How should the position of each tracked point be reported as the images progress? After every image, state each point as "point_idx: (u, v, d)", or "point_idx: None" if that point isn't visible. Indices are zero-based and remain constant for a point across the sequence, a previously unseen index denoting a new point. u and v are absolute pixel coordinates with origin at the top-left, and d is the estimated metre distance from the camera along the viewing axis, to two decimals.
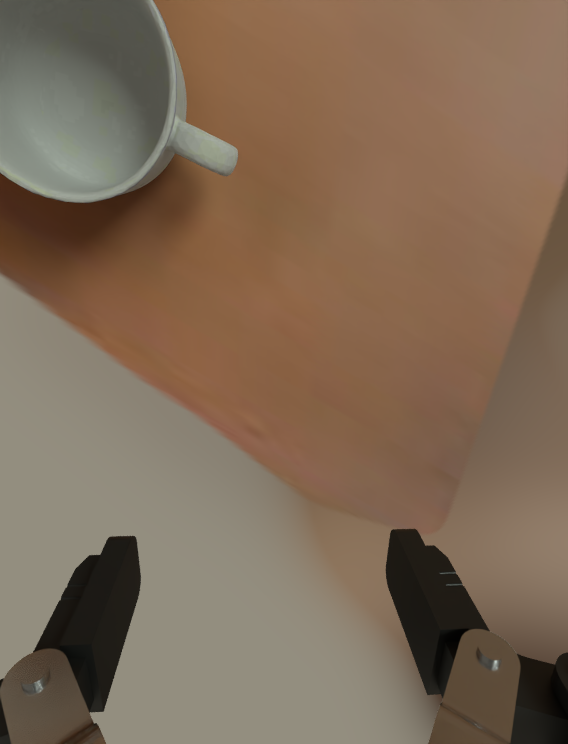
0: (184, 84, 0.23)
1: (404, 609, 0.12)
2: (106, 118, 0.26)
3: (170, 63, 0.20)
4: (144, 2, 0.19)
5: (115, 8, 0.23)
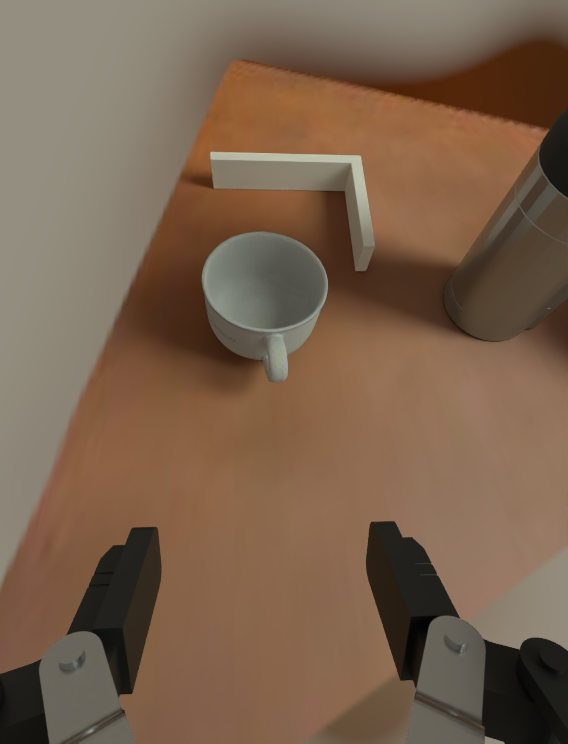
0: (297, 345, 0.39)
1: (381, 599, 0.13)
2: (252, 324, 0.42)
3: (304, 320, 0.35)
4: (319, 302, 0.36)
5: (305, 310, 0.43)
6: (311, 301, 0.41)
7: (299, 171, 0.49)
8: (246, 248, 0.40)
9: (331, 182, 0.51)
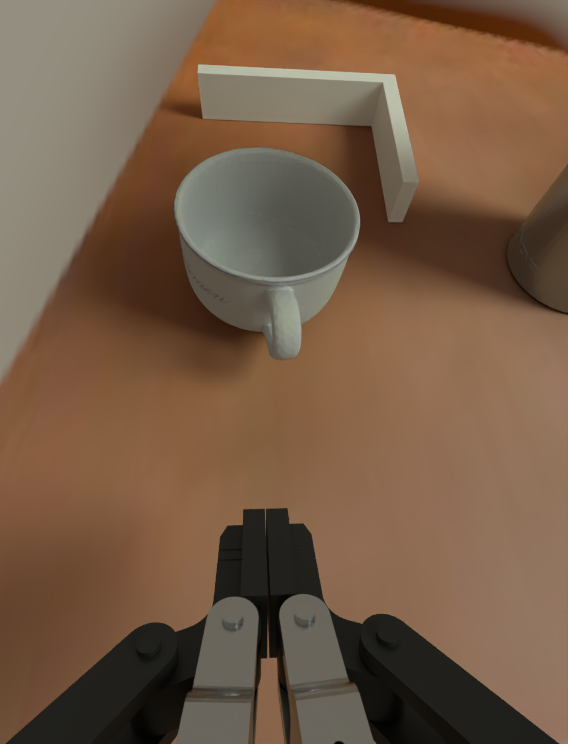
0: (312, 310, 0.27)
1: (267, 582, 0.13)
2: None
3: (327, 266, 0.23)
4: (348, 243, 0.25)
5: (323, 266, 0.31)
6: (332, 253, 0.30)
7: (315, 95, 0.38)
8: (242, 173, 0.28)
9: (355, 113, 0.39)
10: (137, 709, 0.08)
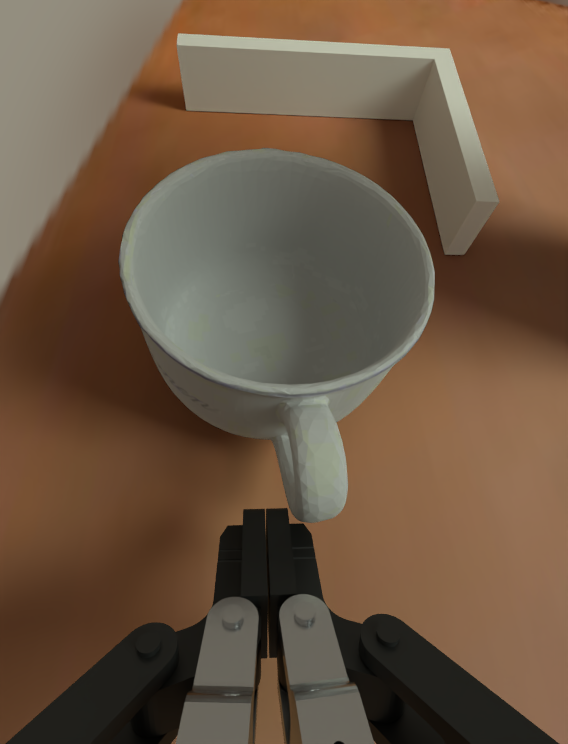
0: (352, 409, 0.17)
1: (267, 582, 0.13)
2: (251, 355, 0.20)
3: (388, 358, 0.13)
4: (419, 311, 0.14)
5: (359, 325, 0.21)
6: (375, 308, 0.20)
7: (339, 77, 0.27)
8: (237, 190, 0.18)
9: (392, 102, 0.29)
10: (137, 709, 0.08)
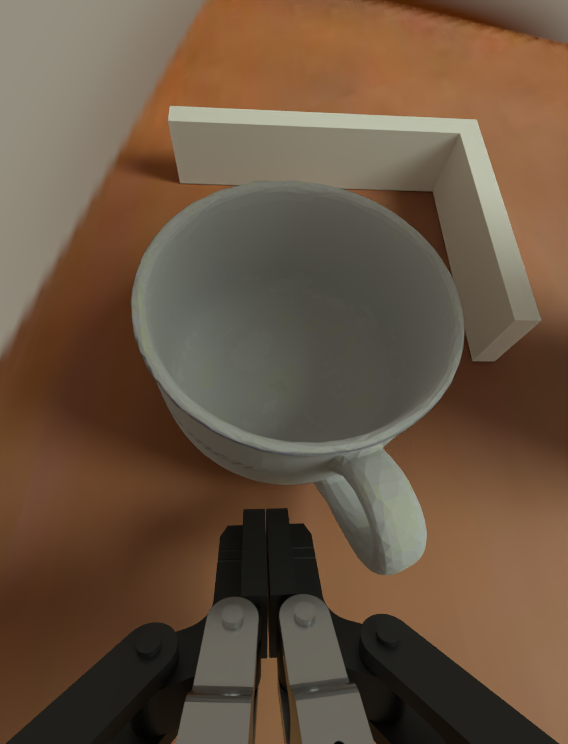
0: None
1: (267, 582, 0.13)
2: (267, 393, 0.19)
3: (438, 390, 0.13)
4: (452, 332, 0.14)
5: (370, 342, 0.20)
6: (386, 325, 0.19)
7: (352, 151, 0.24)
8: (230, 227, 0.17)
9: (411, 174, 0.26)
10: (137, 709, 0.08)
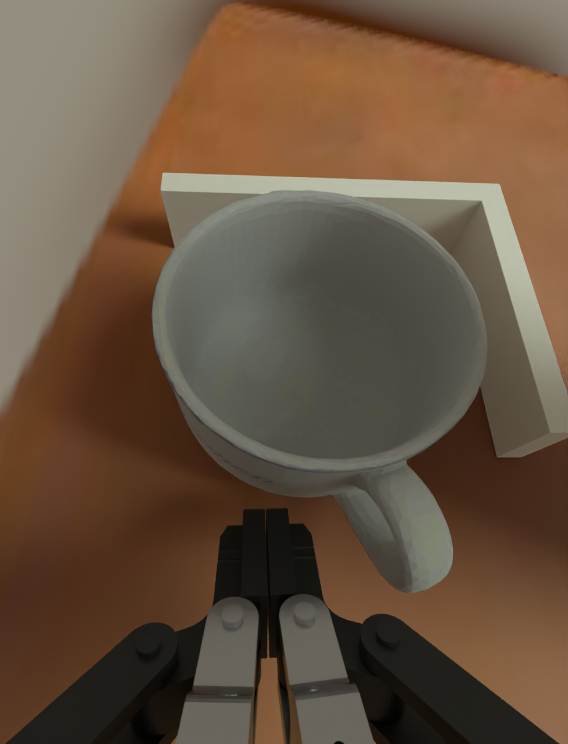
0: None
1: (267, 582, 0.13)
2: (282, 403, 0.19)
3: (462, 405, 0.13)
4: (474, 345, 0.14)
5: (386, 352, 0.20)
6: (403, 334, 0.19)
7: None
8: (248, 237, 0.17)
9: None
10: (137, 709, 0.08)
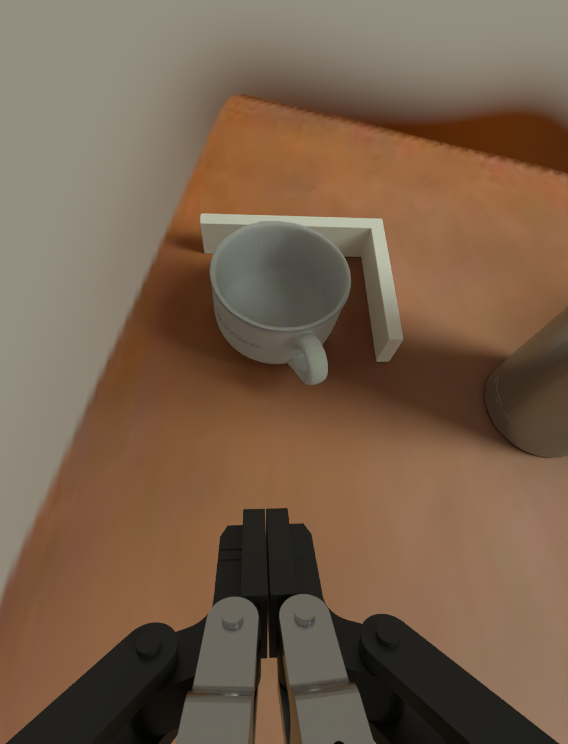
0: (323, 340, 0.35)
1: (267, 582, 0.13)
2: None
3: (335, 310, 0.31)
4: (345, 288, 0.33)
5: (319, 301, 0.39)
6: (326, 291, 0.38)
7: None
8: (248, 242, 0.35)
9: (346, 248, 0.42)
10: (137, 709, 0.08)
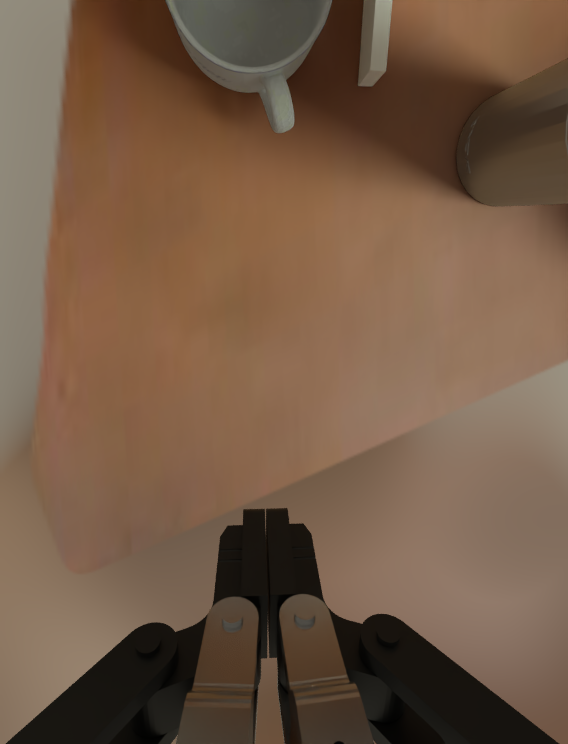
0: (298, 67, 0.32)
1: (267, 582, 0.13)
2: (236, 31, 0.33)
3: (308, 42, 0.28)
4: (325, 4, 0.27)
5: None
6: None
7: None
8: None
9: None
10: (137, 709, 0.08)
